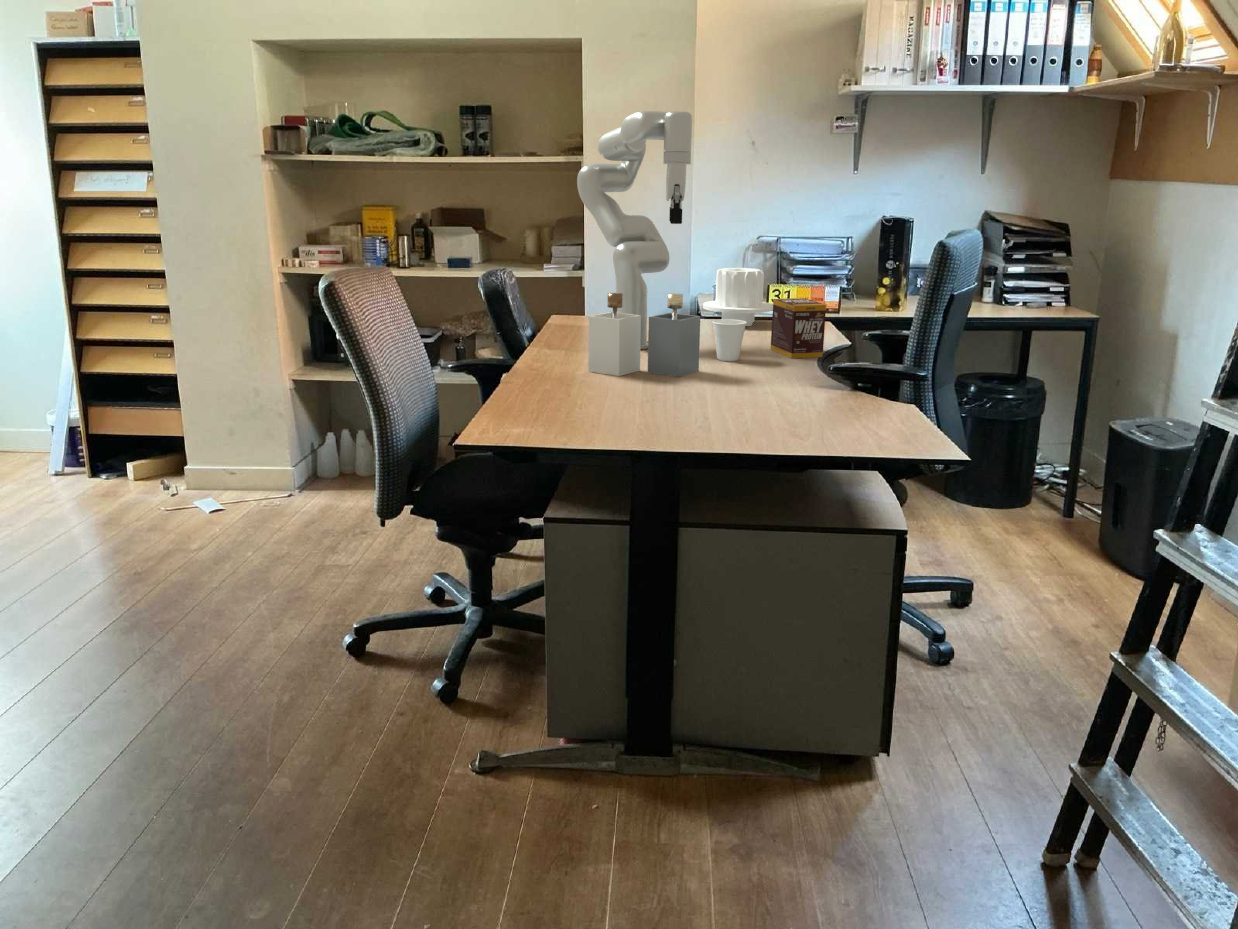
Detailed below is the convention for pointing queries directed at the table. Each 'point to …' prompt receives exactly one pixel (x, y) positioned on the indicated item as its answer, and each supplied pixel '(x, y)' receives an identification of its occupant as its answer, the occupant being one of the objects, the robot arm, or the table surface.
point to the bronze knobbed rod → (615, 302)
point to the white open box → (614, 343)
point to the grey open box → (673, 344)
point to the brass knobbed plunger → (675, 303)
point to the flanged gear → (739, 294)
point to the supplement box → (798, 327)
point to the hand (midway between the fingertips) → (675, 222)
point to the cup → (728, 338)
